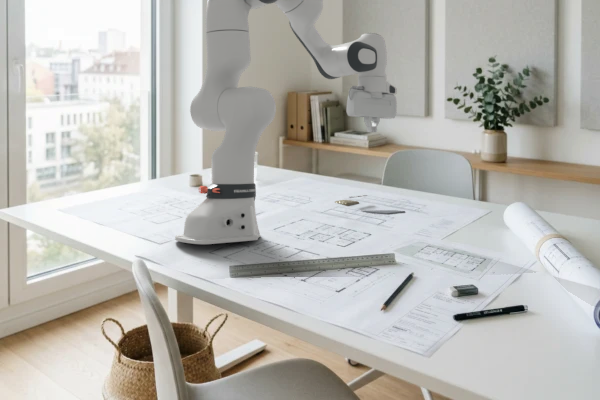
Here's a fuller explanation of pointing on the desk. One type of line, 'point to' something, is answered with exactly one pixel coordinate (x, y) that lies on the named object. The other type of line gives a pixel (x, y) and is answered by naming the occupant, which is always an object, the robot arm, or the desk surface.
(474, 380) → the desk surface
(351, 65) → the robot arm
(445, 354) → the desk surface
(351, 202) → the cuneiform tablet
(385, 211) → the felt pad
